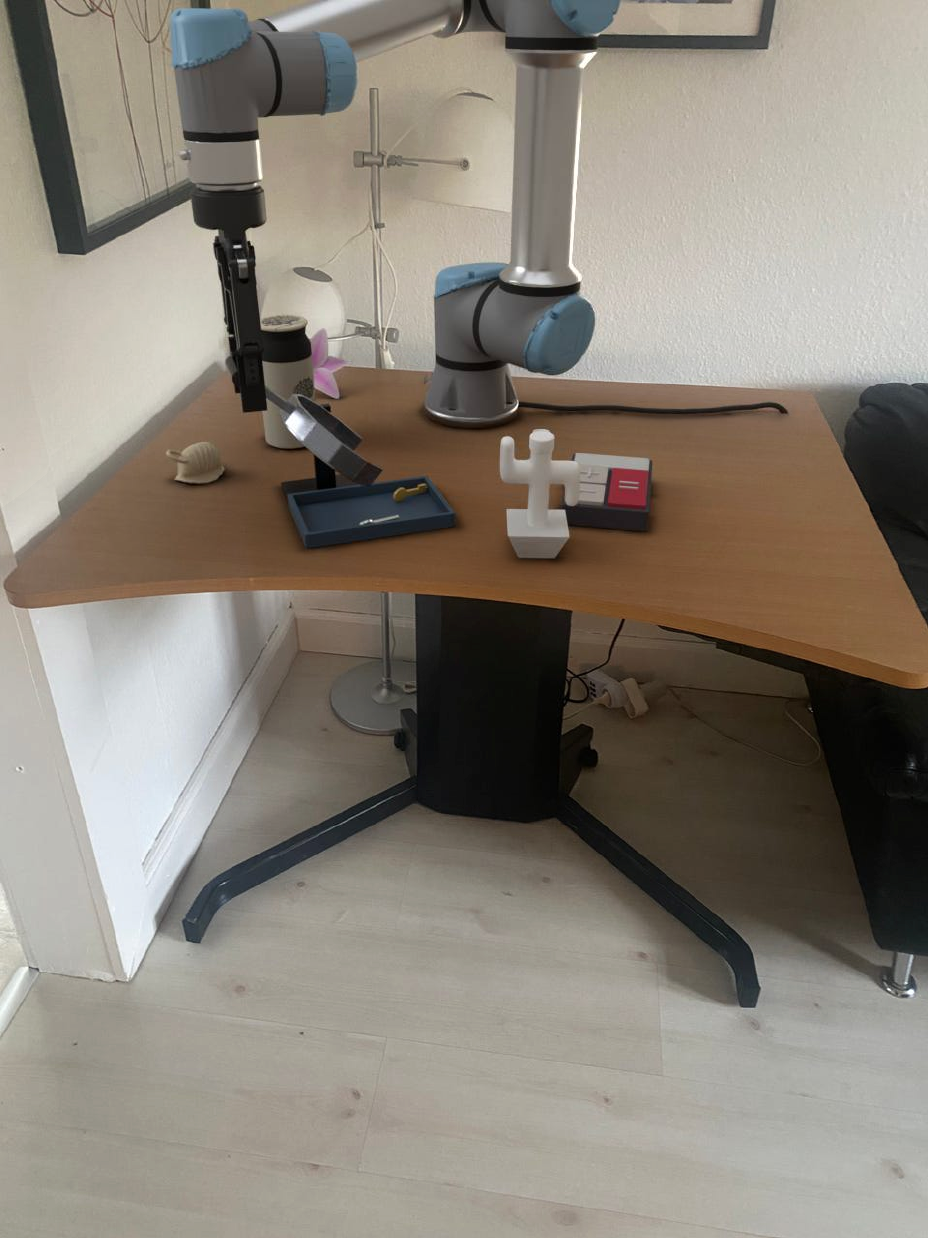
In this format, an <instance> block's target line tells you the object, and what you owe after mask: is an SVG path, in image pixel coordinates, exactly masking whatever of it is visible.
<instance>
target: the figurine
mask: <svg viewBox="0 0 928 1238" xmlns="http://www.w3.org/2000/svg"><path fill="white" fill-rule="evenodd" d="M528 439H529V441H528V449H529V451H530V455H529V458H528V459H516V458H515V439H513V437H511V436H509V435H506V436H503V437H502V438H501V440H500V447H499V476H500V479H501V481H502V482H503V483H505V484H510V485H511V484H512V485H513V484H514V485H517V484H518V485H528V492H527V493H528V494H527V496H528V497H527V508H506V525H507V529H506V530H507V537H508V539H509V541H510V544H511V545H512V548H513V549H514V552H515V553H516V555H517V558H519V559H556V557H557V556H558V554H559V553H560V551H561V550H562V549H563V547H564V546H565V544H566V543H567V542H568V540H570V531H569V525H568V524H567V519H566V513H565V510H561V509H549V505H550V487H551V485H563V486H564V491H565V502H566V504H567V505H569V506H575V505H576V504H577V503H578V499H579V486H580V468H579V465H578V464H577V463H576V462H574V461H571V460H552V456H553V455H552V453H553V451H554V449H555V434H553V433H551V432H550V430H549V429H543V428H537V429H533V430H532V433H530V434H529V437H528Z"/></svg>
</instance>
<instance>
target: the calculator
mask: <svg viewBox="0 0 928 1238" xmlns="http://www.w3.org/2000/svg"><path fill="white" fill-rule="evenodd" d="M570 461H574V462H576V463H577V464H578V465H579V468H580V486H579V499H578V503H577V504H576V505H575V506H569V505H567V504H566V502H565V490H564V492H563V496H562V500H561V509H560V510H565V513H566V519H567V524H568V526H576V527H577V526H579V527H586V528H587V527H589V528H599V529H610V530H611V529H612V530H622V531H632V532H642V533H643V532H646V531H647V530H648V524H649V516H650V504H651V492H652V491H651V489H652V478H653V477H652V476H653V460H652V459H649V458H647V457H634V456H623V455H609V454H598V453H597V454H596V453H586V452H585V453H584V452H576V453H573V454H572V457H571V460H570Z"/></svg>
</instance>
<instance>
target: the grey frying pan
mask: <svg viewBox="0 0 928 1238" xmlns="http://www.w3.org/2000/svg"><path fill="white" fill-rule="evenodd" d="M224 365H225V368H226V370H227V372H228V374H229V378H230V380H231V382H232V384H233V386H234V385H236V386H238V387H240V385H239V376H238V367H237V359H236V357H232V356H230V355H229V356H227V357H226V359H225V361H224ZM265 391H266V398H267V399H268V400H270V401H271V402H273V403H274V404H276V405H277V406H278V407H280V408H281V411H280V414H281V416H282V420H283V422H284V424H285V425H286V427H287V428H288V429H289V431H290V432H291V433H292V434H293V435H294V436H295V437H296V438H297V439H298V440H299V441H300V442H301V443H302V444H303V445H304V446H305V447H304V448H306V449H307V450H308V451H309V452H311V453H312V455H313V454H314V455H316V456H317V457H318V458H319V459H321V460H322V461H323V462H324V463H326V464H327V465H328V466H330V467H331V468H332V469H334V470H335V472H337V473H338V474H339V475H343V476H344V477H346V478H347V479H349V480H351V481H353V482H355V483H357V484H359V485H362V486H367V487H370V486H371V484H372V483H375V482H376V479H377V478H378V477H379V476H380V474H381V473H382V472H383V471H384V469H383V468H382V467H381V466H379V465H377V464H375V463H373V462H371V461H370V460H367V459H365V458H364V457H363V456H361V455H360V454H358V453H357V452H356V451H355V450H356V449H357V448H358V447H359V446H360V444H361V443H362V441H363V440H364V438H363V437H362V436H360V435H359V434H358V433H357V432H356V431H354V430H353V429H352V428H351V427H349V426H348V425H347V424H346V423H345V422H344V421H342V420H341V419H340V418H338V417H337V416H335V415H334V414H333V413H332V412H331V413H330V412H329V411H327V410H326V409H325V408H323V407H322V406H320V405H321V404H320V403H318V402H317V401H316V402H314V401H312V400H310V399H309V398H307V397H305V396H303V395H302V394H293V395H292V396H291V398H290V399H289V400H288V401H287V400H285V399H284V398H282V397H281V396H280V395H278V394H277V393H275V392H274V391H273V390H271V389H270V388H268V387H267V386H265ZM314 455H313V456H314Z"/></svg>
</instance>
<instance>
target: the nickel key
mask: <svg viewBox="0 0 928 1238" xmlns="http://www.w3.org/2000/svg"><path fill="white" fill-rule="evenodd" d="M397 519H399V515H395V516H391V517H387V518H382V519H378V520H374V521H372V520H365V521H363V522H361V523H360V524H359V525H362V524H369V523H376V522H383V521H390V520H397Z"/></svg>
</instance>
